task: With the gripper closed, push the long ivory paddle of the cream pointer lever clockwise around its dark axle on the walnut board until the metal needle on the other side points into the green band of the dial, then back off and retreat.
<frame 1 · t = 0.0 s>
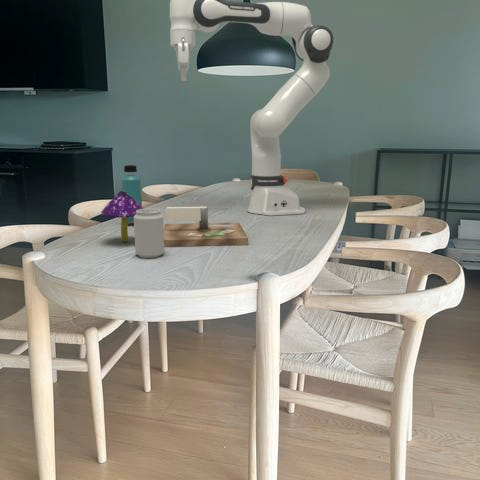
hand: (183, 81, 174), 48 cm above the table, fingers open, 8 cm apart
can: (150, 255, 126), on the table
decorative mushroom: (125, 242, 140), on the table
beverage bottle: (133, 225, 164), on the table
cream pointer lever: (200, 218, 146), point 6 cm above the table, hinge at 0.0°
board: (203, 236, 147), on the table
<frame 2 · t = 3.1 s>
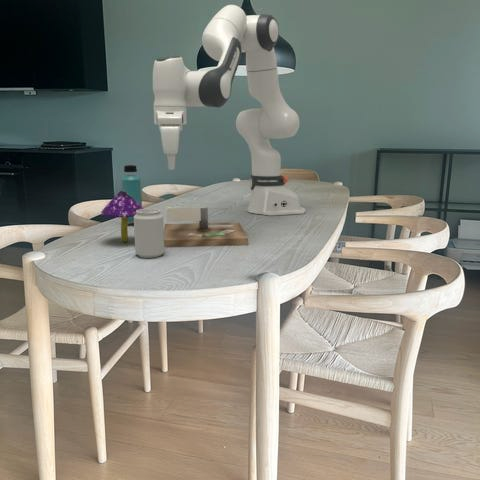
hand: (171, 168, 135), 21 cm above the table, fingers open, 3 cm apart
nothing on the table moved.
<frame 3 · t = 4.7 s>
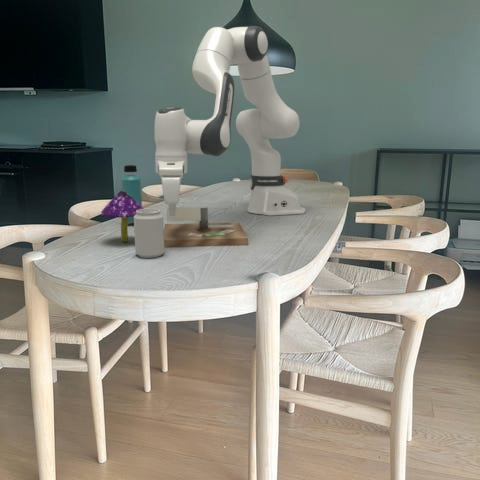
hand: (172, 215, 138), 8 cm above the table, fingers closed
nothing on the table moved.
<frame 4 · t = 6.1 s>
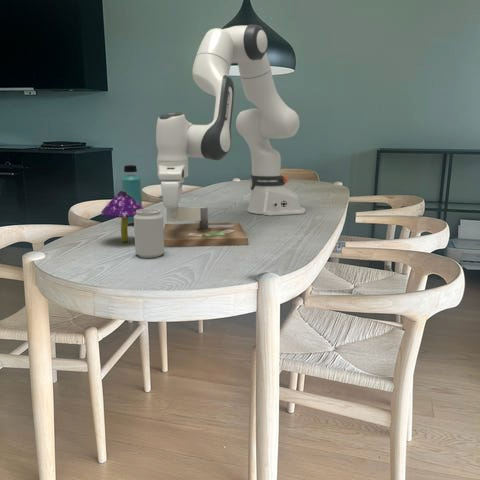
hand: (174, 217, 142), 6 cm above the table, fingers closed
cream pointer lever: (200, 218, 146), point 6 cm above the table, hinge at -0.1°, touching gripper
everything else where it was.
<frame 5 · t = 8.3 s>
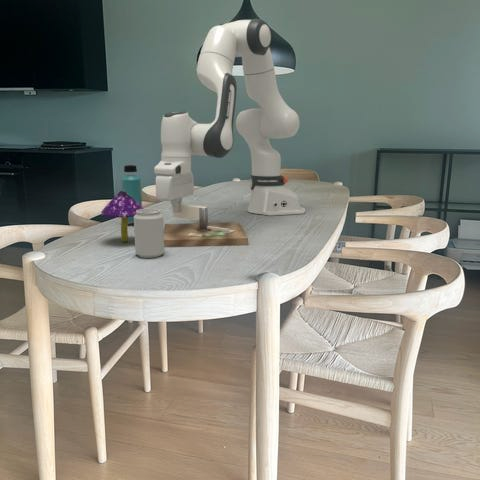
hand: (176, 212, 148), 7 cm above the table, fingers closed
cream pointer lever: (200, 217, 146), point 6 cm above the table, hinge at -37.7°, touching gripper
everything else where it was.
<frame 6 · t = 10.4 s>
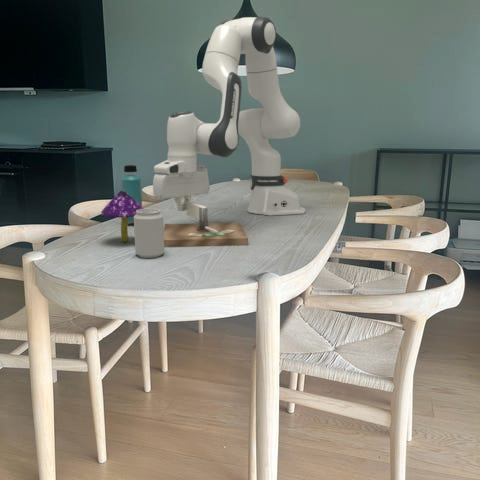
hand: (183, 210, 151), 7 cm above the table, fingers closed
cream pointer lever: (202, 217, 147), point 6 cm above the table, hinge at -67.6°
everything else where it was.
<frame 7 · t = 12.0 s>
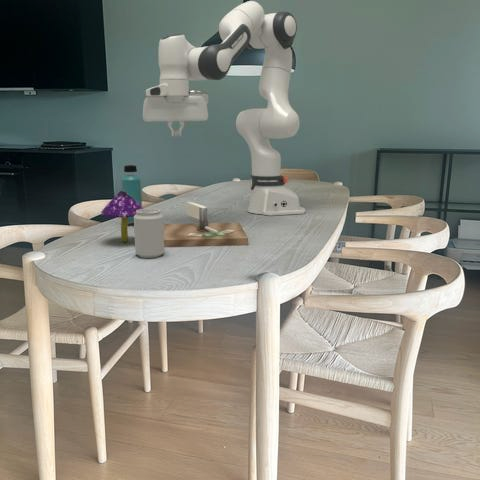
hand: (176, 136, 152), 29 cm above the table, fingers closed
nothing on the table moved.
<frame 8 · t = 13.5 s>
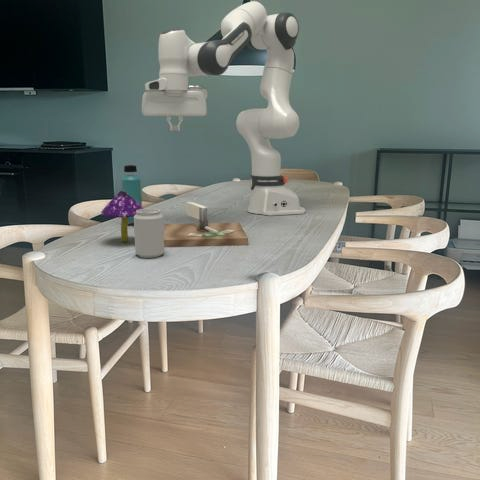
hand: (175, 131, 152), 31 cm above the table, fingers closed
nothing on the table moved.
at the end: cream pointer lever at -68° (first picture: +0°); cream pointer lever touching nothing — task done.
